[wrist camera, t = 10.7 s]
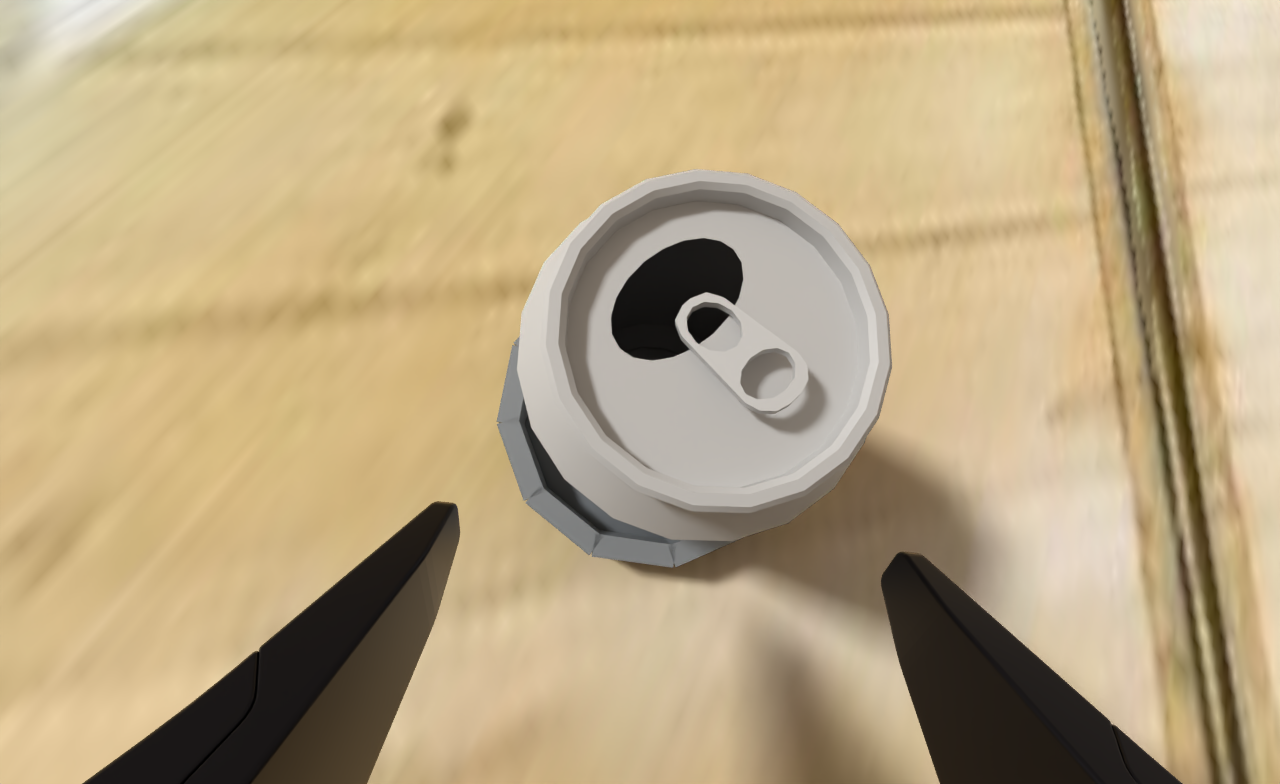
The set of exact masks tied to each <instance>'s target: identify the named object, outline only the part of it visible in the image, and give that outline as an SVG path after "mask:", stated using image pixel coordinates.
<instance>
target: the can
mask: <svg viewBox="0 0 1280 784" xmlns="http://www.w3.org/2000/svg"><path fill="white" fill-rule="evenodd" d="M891 369H892V358H891V343H890V327H889V314H888V311H887V309H886V306H885V304H884V301H883V298H882V296H881V293H880V290H879V288H878V285H877V283H876V280H875V277H874V275H873V272H872V270H871V267H870V265H869V264H868V262H867V261H866V260H865V258H864V257H863V256H862V254H861V253H860V252H859V250H858V249H857V248H856V247H855V245H854V244H853V243H852V241H851V240H850V239H849V237H848V236H847V235H846V233H845V232H844V231H843V229H842V228H841V227H840V226H839V224H838V223H837V222H835V221H834V220H833V219H831V218H830V217H829V216H827V215H826V214H824V213H823V212H822V211H820V210H819V209H818V208H816V207H815V206H814V205H812V204H811V203H810V202H808V201H807V200H806V199H804V198H803V197H802V196H800V195H799V194H798V193H796V192H794V191H791V190H789V189H786V188H784V187H781V186H778V185H776V184H773V183H771V182H768V181H765V180H763V179H760V178H758V177H755V176H752V175H750V174H746V173H735V172H723V171H712V170H701V169H694V170H689V171H684V172H680V173H675V174H670V175H665V176H660V177H655V178H651V179H646V180H644V181H642V182H640V183H639V184H637V185H635V186H633V187H631V188H630V189H628V190H626V191H624V192H622V193H621V194H619V195H617V196H615V197H613V198H612V199H610V200H608V201H606V202H605V203H603V204H601V205H600V206H599V207H598V208H597V209H596V210H595V211H594V213H593V214H592V215H591V216H590V217H589V218H588V219H586V220H584V221H583V222H581V223H580V224H579V225H578V226H577V227H576V228H575V229H574V230H573V231H572V232H571V234H570V235H569V236H568V237H567V238H566V239H565V240H564V241H563V242H562V243H561V244H560V246H559V247H558V248H557V249H556V250H555V251H554V252H553V253H552V254H551V255H550V256H549V258H548V259H547V260H546V261H545V262H544V264H543V266H542V268H541V270H540V273H539V275H538V277H537V280H536V282H535V284H534V286H533V289H532V291H531V293H530V295H529V298H528V300H527V302H526V305H525V307H524V309H523V311H522V316H521V328H520V340H519V351H518V363H517V372H518V376H519V380H520V384H521V388H522V392H523V396H524V400H525V404H526V408H527V412H528V416H529V420H530V424H531V428H532V429H533V431H534V433H535V434H536V436H537V437H538V439H539V440H540V442H541V444H542V445H543V447H544V448H545V450H546V451H547V453H548V454H549V456H550V458H551V459H552V461H553V462H554V464H555V465H556V467H557V468H558V470H559V472H560V473H561V475H562V476H563V478H564V479H565V480H566V481H567V482H569V483H570V484H571V485H572V486H574V487H575V488H576V489H577V490H578V491H580V492H581V493H582V494H583V495H585V496H586V497H587V498H588V499H590V500H591V501H592V502H593V503H595V504H596V505H597V506H598V507H600V508H601V509H602V510H603V511H605V512H606V513H607V514H608V515H610V516H611V517H612V518H614V519H617V520H619V521H622V522H625V523H627V524H630V525H633V526H636V527H638V528H641V529H644V530H646V531H649V532H652V533H655V534H657V535H660V536H663V537H665V538H668V539H671V540H707V541H734V540H737V539H740V538H743V537H746V536H750V535H753V534H756V533H759V532H762V531H765V530H768V529H771V528H775V527H778V526H781V525H784V524H787V523H789V522H790V521H792V520H793V519H794V518H796V517H797V516H798V515H800V514H801V513H802V512H804V511H805V510H806V509H808V508H809V507H810V506H812V505H813V504H814V503H816V502H817V501H818V500H820V499H821V498H822V497H823V496H825V495H826V494H827V493H829V492H830V491H831V490H833V489H834V488H835V486H836V485H837V483H838V482H839V480H840V479H841V477H842V476H843V474H844V473H845V471H846V470H847V468H848V467H849V465H850V464H851V462H852V461H853V459H854V458H855V456H856V455H857V453H858V452H859V450H860V449H861V447H862V446H863V444H864V442H865V439H866V437H867V435H868V434H869V432H870V431H871V429H872V428H873V426H874V425H875V423H876V422H877V420H878V419H879V416H880V412H881V408H882V404H883V400H884V396H885V392H886V388H887V385H888V381H889V377H890V373H891Z"/></svg>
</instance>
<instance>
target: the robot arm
mask: <svg viewBox="0 0 1280 784" xmlns="http://www.w3.org/2000/svg"><path fill="white" fill-rule="evenodd" d="M459 537H460V526H459V516H458V508H457V505H456V504H454V503H449V502H439V501H437V502H434V503H432V504H431V505H429V506H428V507H427V508H426V509H425V510H423V511H422V512H421V513H420V514H419V515H417V516H416V517H415V518H414V519H413V520H411V521H410V522H409V523H408V524H407V525H405V526H404V527H403V528H402V529H401V530H399V531H398V532H397V533H396V534H395V535H393V536H392V537H391V538H390V539H389V540H387V541H386V542H385V543H384V544H383V545H381V546H380V547H379V548H378V549H377V550H375V551H374V552H373V553H372V554H371V555H370V556H368V557H367V558H366V559H365V560H364V561H362V562H361V563H360V564H359V565H358V566H356V567H355V568H354V569H353V570H352V571H350V572H349V573H348V574H347V575H346V576H344V577H343V578H342V579H341V580H340V581H338V582H337V583H336V584H335V585H334V586H332V587H331V588H330V589H329V590H328V591H326V592H325V593H324V594H323V595H322V596H320V597H319V598H318V599H317V600H316V601H315V602H313V603H312V604H311V605H310V606H309V607H307V608H306V609H305V610H304V611H303V612H301V613H300V614H299V615H298V616H297V617H295V618H294V619H293V620H292V621H291V622H289V623H288V624H287V625H286V626H285V627H283V628H282V629H281V630H280V631H279V632H277V633H276V634H275V635H274V636H273V637H271V638H270V639H269V640H268V641H267V642H265V643H264V644H263V645H262V646H261V647H260V649H259V652H258V651H255V652H253V653H252V654H251V655H250V656H248V657H247V658H246V659H245V660H244V661H242V662H241V663H240V664H239V665H238V666H236V667H235V668H234V669H233V670H232V671H231V672H229V673H228V674H227V675H226V676H224V677H223V678H222V679H221V680H219V681H218V682H217V683H216V684H214V685H213V686H212V687H211V688H209V689H208V690H207V691H206V692H204V693H203V694H202V695H201V696H199V697H198V698H197V699H196V700H195V701H193V702H192V703H191V704H189V705H188V706H187V707H185V708H184V709H183V710H181V711H180V712H179V713H177V714H176V715H175V716H173V717H172V718H171V719H170V720H168V721H167V722H166V723H164V724H163V725H162V726H160V727H159V728H158V729H156V730H155V731H154V732H152V733H151V734H150V735H148V736H147V737H146V738H144V739H143V740H142V741H140V742H139V743H137V744H136V745H135V746H133V747H132V748H131V749H129V750H128V751H126V752H125V753H124V754H122V755H121V756H120V757H118V758H117V759H115V760H114V761H113V762H111V763H110V764H109V765H107V766H106V767H104V768H103V769H102V770H100V771H99V772H98V773H96V774H95V775H94V776H92V777H91V778H89V779H88V780H87V781H85V782H84V783H83V784H367V782H368V780H369V777H370V775H371V773H372V770H373V768H374V765H375V763H376V761H377V758H378V756H379V753H380V751H381V749H382V746H383V744H384V742H385V739H386V737H387V734H388V732H389V730H390V727H391V725H392V723H393V720H394V718H395V715H396V713H397V711H398V708H399V706H400V703H401V701H402V699H403V696H404V694H405V692H406V689H407V687H408V684H409V682H410V680H411V677H412V675H413V672H414V670H415V668H416V665H417V663H418V661H419V658H420V656H421V653H422V651H423V649H424V646H425V644H426V641H427V639H428V637H429V634H430V632H431V629H432V627H433V624H434V622H435V619H436V616H437V613H438V610H439V607H440V603H441V600H442V597H443V593H444V590H445V586H446V583H447V580H448V576H449V573H450V570H451V566H452V563H453V559H454V556H455V553H456V549H457V546H458V542H459ZM881 587H882V591H883V596H884V600H885V604H886V609H887V613H888V617H889V622H890V626H891V630H892V635H893V639H894V643H895V647H896V651H897V655H898V659H899V662H900V666H901V669H902V672H903V675H904V678H905V681H906V684H907V687H908V690H909V693H910V696H911V699H912V702H913V705H914V708H915V711H916V714H917V717H918V720H919V723H920V726H921V729H922V732H923V735H924V738H925V741H926V744H927V747H928V750H929V753H930V756H931V759H932V762H933V765H934V767H935V770H936V773H937V776H938V779H939V782H940V784H1182V783H1181V782H1180V781H1179V780H1177V779H1176V778H1175V777H1174V776H1173V775H1172V774H1170V773H1169V772H1168V771H1167V770H1166V769H1165V768H1163V767H1162V766H1161V765H1160V764H1159V763H1158V762H1156V761H1155V760H1154V759H1153V758H1152V757H1151V756H1150V755H1148V754H1147V753H1146V752H1145V751H1144V750H1143V749H1141V748H1140V747H1139V746H1138V745H1137V744H1136V743H1135V742H1133V741H1132V740H1131V739H1130V738H1129V737H1128V736H1127V735H1126V734H1124V733H1123V732H1122V731H1121V730H1120V729H1119V728H1118V727H1117V726H1115V725H1111V722H1110V721H1109V720H1108V719H1107V718H1106V717H1105V716H1104V715H1103V714H1102V713H1101V712H1099V711H1098V710H1097V709H1096V708H1095V707H1094V706H1093V705H1092V704H1090V703H1089V702H1088V701H1087V700H1086V699H1085V698H1084V697H1082V696H1081V695H1080V694H1079V693H1078V692H1077V691H1076V690H1075V689H1073V688H1072V687H1071V686H1070V685H1069V684H1068V683H1067V682H1065V681H1064V680H1063V679H1062V678H1061V677H1060V676H1059V675H1058V674H1056V673H1055V672H1054V671H1053V670H1052V669H1051V668H1050V667H1049V666H1047V665H1046V664H1045V663H1044V662H1043V661H1042V660H1041V659H1039V658H1038V657H1037V656H1036V655H1035V654H1034V653H1033V652H1032V651H1030V650H1029V649H1028V648H1027V647H1026V646H1025V645H1024V644H1023V643H1021V642H1020V641H1019V640H1018V639H1017V638H1016V637H1015V636H1013V635H1012V634H1011V633H1010V632H1009V631H1008V630H1007V629H1006V628H1004V627H1003V626H1002V625H1001V624H1000V623H999V622H998V621H996V620H995V619H994V618H993V617H992V616H991V615H990V614H989V613H987V612H986V611H985V610H984V609H983V608H982V607H981V606H980V605H978V604H977V603H976V602H975V601H974V600H973V599H972V598H970V597H969V596H968V595H967V594H966V593H965V592H964V591H963V590H961V589H960V588H959V587H958V586H957V585H956V584H955V583H954V582H952V581H951V580H950V579H949V578H948V577H947V576H946V575H944V574H943V573H942V572H941V571H940V570H939V569H938V568H937V567H935V566H934V565H933V564H932V563H931V562H930V561H929V560H927V559H926V558H925V557H924V556H923V555H921V554H918V553H911V552H899V553H898V554H897V555H896V556H895V557H894V559H893V560H892V562H891V563H890V564H889V566H888V567H887V569H886V570H885V572H884V573H883V575H882V578H881Z"/></svg>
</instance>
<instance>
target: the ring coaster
mask: <svg viewBox="0 0 1280 784" xmlns="http://www.w3.org/2000/svg"><path fill="white" fill-rule="evenodd" d="M519 340H520V336H519V338H518V339H517V340H516V341H515V342H514V344H515V346H514V345H512V350H511V355H510V360H509V364H508V369H507V374H506V379H505V384H504V389H503V394H502V398H501V403H500V408H499V413H498V418H497V422H499V424H497V426H498V429H499V431H500V434H501V437H502V440H503V443H504V446H505V449H506V451H507V454H508V457H509V460H510V463H511V466H512V468H513V471H514V474H515V477H516V480H517V483H518V486H519V488H520V491H521V494H522V497H523V500H527V499H528V500H527V501H526V504H527V505H529V506H530V507H531V508H532V509H533V510H535V511H536V512H537V513H538V514H540V515H541V516H542V517H543V518H544V519H546V520H547V521H548V522H549V523H551V524H552V525H553V526H554V527H555V528H557V529H558V530H559V531H560V532H561V533H563V534H564V535H565V536H566V537H568V538H569V539H570V540H571V541H572V542H574V543H575V544H576V545H577V546H579V547H580V548H581V549H582V550H583V551H585V552H586V553H587V554H588V555H590V554H591V552H592V557H600V558H607V559H614V560H621V561H628V562H636V563H643V564H650V565H657V566H664V567H672V568H673V565H674V566H675V567H678V566H680V565H682V564H685V563H687V562H689V561H691V560H694V559H696V558H698V557H700V556H703V555H705V554H707V553H710V552H712V551H714V550H716V549H719V548H721V547H723V546H725V545H728V544H730V543H732V542H734V541H737V540H739V539H737V540H734V541H707V540H671V539H668V538H665V537H663V536H660V535H657V534H655V533H652V532H649V531H646V530H644V529H641V528H638V527H636V526H633V525H630V524H627V523H625V522H622V521H619V520H617V519H614V518H612V517H611V516H610V515H608V514H607V513H606V512H605V511H603V510H602V509H601V508H600V507H598V506H597V505H596V504H595V503H593V502H592V501H591V500H590V499H588V498H587V497H586V496H585V495H583V494H582V493H581V492H580V491H578V490H577V489H576V488H575V487H574V486H572V485H571V484H570V483H569V482H567V481H566V480H565V479H564V478H563V476H562V475H561V473H560V472H559V470H558V468H557V467H556V465H555V464H554V462H553V461H552V459H551V458H550V456H549V454H548V453H547V451H546V450H545V448H544V447H543V445H542V444H541V442H540V440H539V439H538V437H537V436H536V434H535V433H534V431H533V429H532V428H531V424H530V420H529V416H528V412H527V408H526V404H525V400H524V396H523V392H522V388H521V384H520V380H519V376H518V372H517V363H518V351H519ZM743 538H744V537H743ZM740 539H741V538H740Z"/></svg>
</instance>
